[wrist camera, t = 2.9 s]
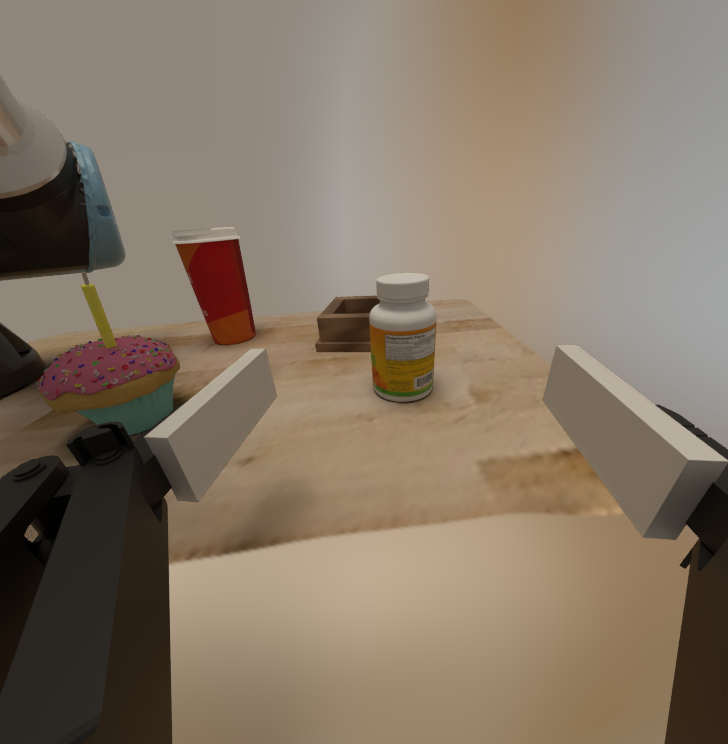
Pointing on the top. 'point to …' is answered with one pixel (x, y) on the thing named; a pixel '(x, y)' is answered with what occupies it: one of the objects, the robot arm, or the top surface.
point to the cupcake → (112, 376)
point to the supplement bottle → (403, 338)
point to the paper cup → (218, 281)
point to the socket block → (346, 324)
